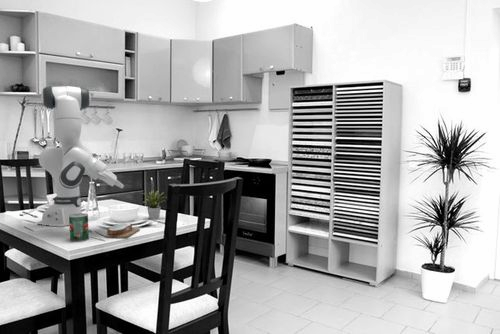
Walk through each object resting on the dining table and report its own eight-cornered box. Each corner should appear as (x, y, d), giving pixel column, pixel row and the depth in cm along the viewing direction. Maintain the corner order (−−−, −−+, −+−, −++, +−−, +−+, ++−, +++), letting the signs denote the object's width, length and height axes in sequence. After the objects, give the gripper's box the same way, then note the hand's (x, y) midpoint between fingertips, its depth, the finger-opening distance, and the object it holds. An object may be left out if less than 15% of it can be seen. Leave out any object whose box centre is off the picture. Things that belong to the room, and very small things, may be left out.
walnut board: (107, 238, 196) (107, 235, 196) (121, 230, 211) (121, 228, 211) (126, 238, 195) (126, 236, 195) (139, 230, 210) (139, 228, 209)
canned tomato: (92, 239, 194) (91, 215, 193) (74, 242, 188) (73, 217, 187) (84, 236, 200) (83, 212, 199) (67, 239, 194) (65, 215, 193)
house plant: (147, 223, 226) (146, 191, 224) (134, 218, 236) (133, 189, 234) (171, 218, 235) (170, 188, 234) (157, 215, 245) (156, 186, 244)
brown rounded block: (103, 235, 196) (121, 237, 195) (103, 228, 196) (121, 230, 195) (118, 227, 211) (135, 229, 210) (118, 221, 211) (135, 223, 210)
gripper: (101, 166, 195) (127, 184, 199) (102, 163, 215) (126, 179, 219) (93, 178, 195) (119, 195, 199) (95, 174, 214) (119, 189, 218)
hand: (123, 187), depth 209 cm, fingers closed
